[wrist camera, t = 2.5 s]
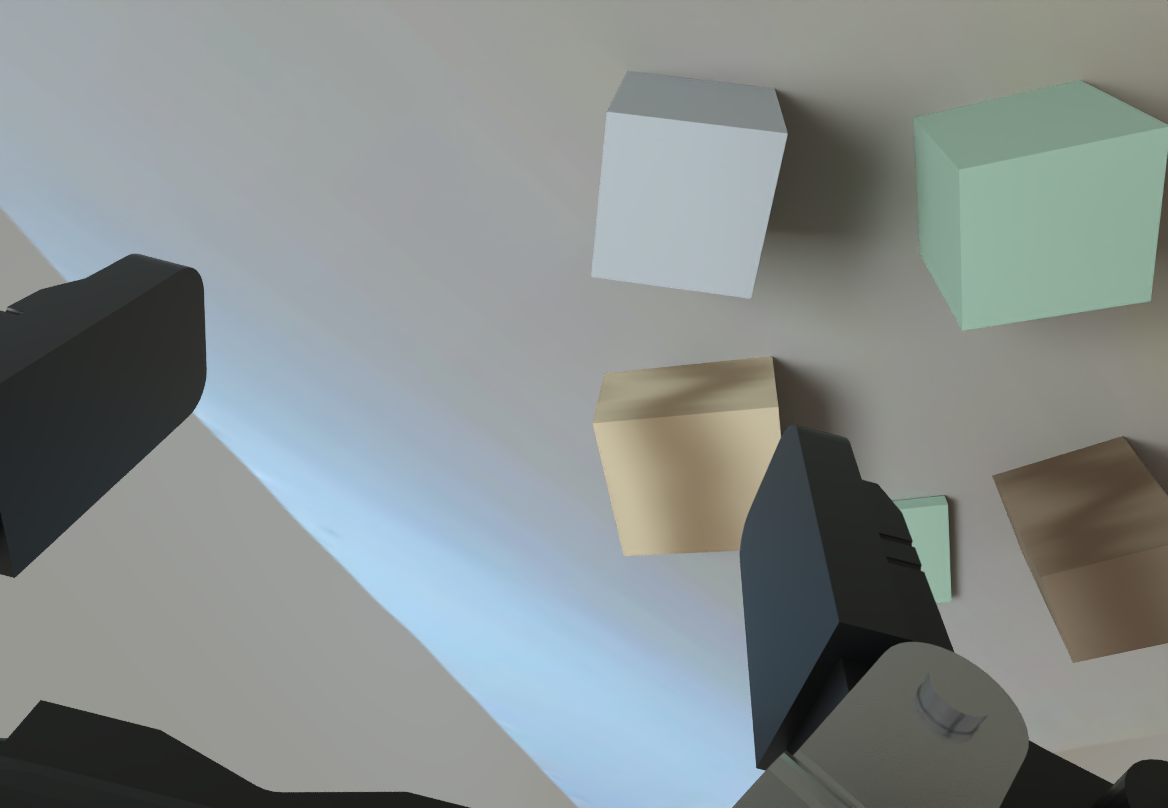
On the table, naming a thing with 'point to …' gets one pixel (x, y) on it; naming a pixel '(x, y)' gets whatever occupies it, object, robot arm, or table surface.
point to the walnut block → (1094, 546)
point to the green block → (1040, 204)
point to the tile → (930, 540)
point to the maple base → (686, 452)
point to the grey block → (687, 183)
